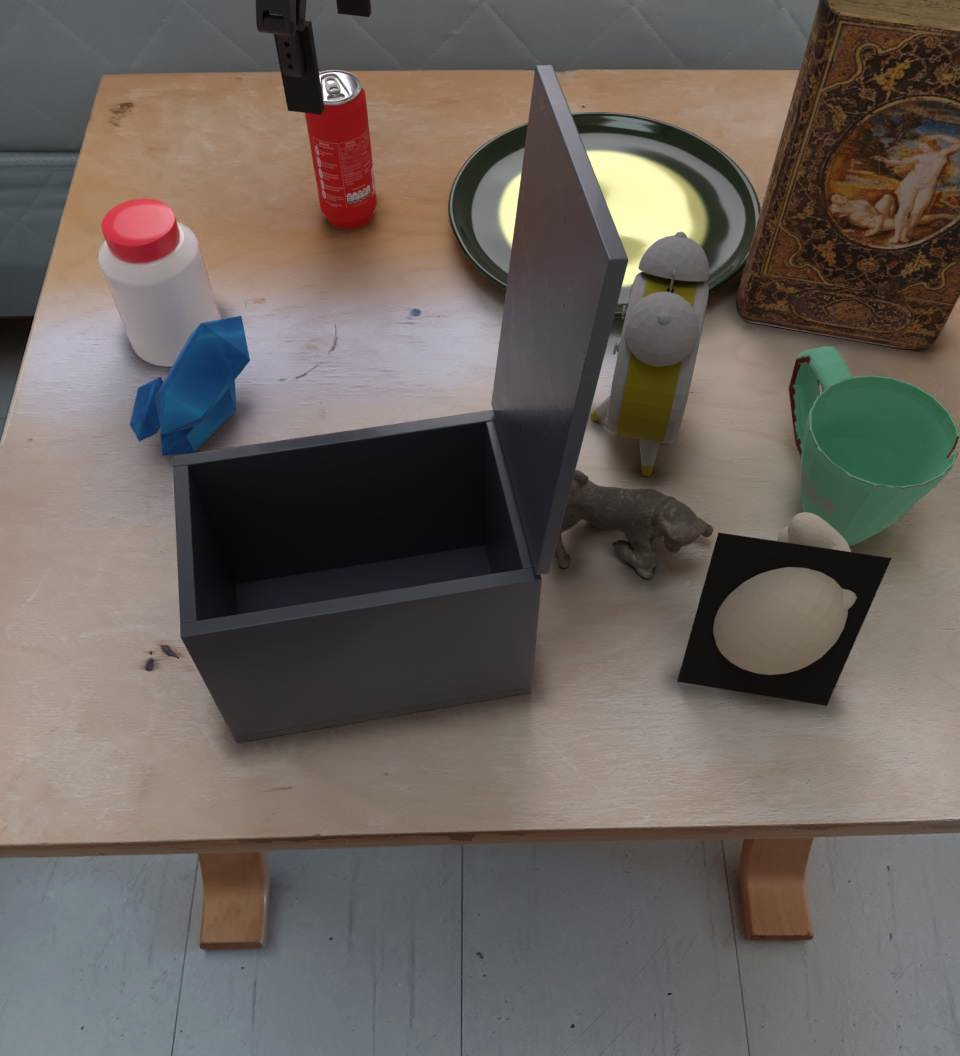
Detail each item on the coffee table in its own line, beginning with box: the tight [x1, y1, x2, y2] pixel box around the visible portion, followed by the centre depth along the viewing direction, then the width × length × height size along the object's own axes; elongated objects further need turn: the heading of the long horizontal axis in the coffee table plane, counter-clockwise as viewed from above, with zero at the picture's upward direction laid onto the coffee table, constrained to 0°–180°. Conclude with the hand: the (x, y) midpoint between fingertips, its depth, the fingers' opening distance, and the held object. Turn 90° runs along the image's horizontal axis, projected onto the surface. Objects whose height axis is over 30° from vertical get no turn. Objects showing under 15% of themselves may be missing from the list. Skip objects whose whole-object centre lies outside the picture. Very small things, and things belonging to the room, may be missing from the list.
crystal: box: [129, 315, 251, 457], centre depth 75 cm, size 7×9×12 cm
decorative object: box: [676, 511, 892, 707], centre depth 64 cm, size 13×10×10 cm
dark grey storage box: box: [172, 409, 543, 744], centre depth 63 cm, size 20×13×14 cm, turn 101°
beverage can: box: [304, 69, 378, 231], centre depth 86 cm, size 5×5×12 cm
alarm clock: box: [589, 232, 710, 477], centre depth 72 cm, size 12×7×15 cm, turn 167°
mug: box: [788, 345, 960, 547], centre depth 71 cm, size 15×10×10 cm
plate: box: [447, 111, 762, 318], centre depth 89 cm, size 28×28×2 cm
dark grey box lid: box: [490, 64, 628, 575], centre depth 49 cm, size 21×13×1 cm
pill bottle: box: [97, 198, 222, 368], centre depth 79 cm, size 8×8×11 cm
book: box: [735, 0, 960, 351], centre depth 74 cm, size 16×6×25 cm, turn 76°
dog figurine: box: [554, 469, 715, 579], centre depth 69 cm, size 12×6×7 cm, turn 74°
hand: (331, 60), depth 79 cm, fingers open, 13 cm apart
